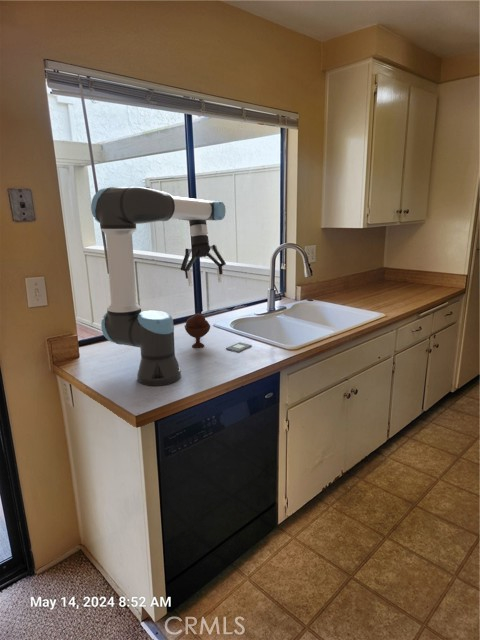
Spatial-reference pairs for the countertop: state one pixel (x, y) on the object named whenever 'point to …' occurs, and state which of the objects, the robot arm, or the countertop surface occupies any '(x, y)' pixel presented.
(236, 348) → the mat
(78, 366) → the countertop surface
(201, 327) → the ice cream bowl
